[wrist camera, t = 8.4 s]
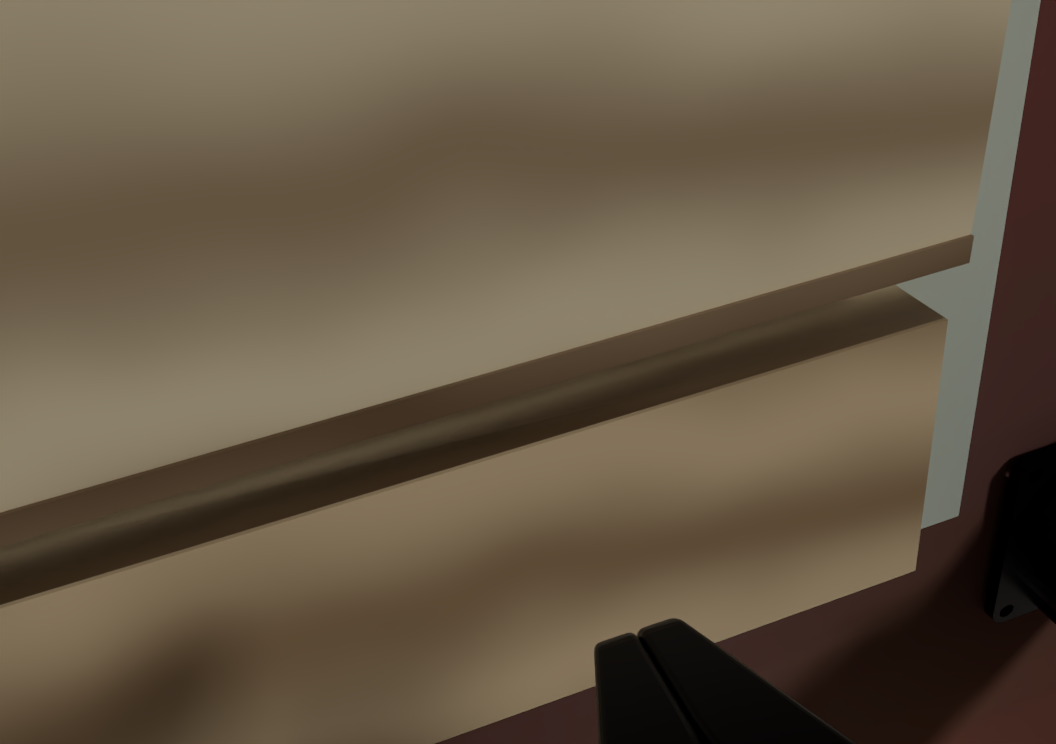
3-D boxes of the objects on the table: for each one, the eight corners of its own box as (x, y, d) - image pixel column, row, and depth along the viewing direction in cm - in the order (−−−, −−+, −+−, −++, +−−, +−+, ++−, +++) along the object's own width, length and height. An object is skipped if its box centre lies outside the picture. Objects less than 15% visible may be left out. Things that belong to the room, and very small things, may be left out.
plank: (903, 221, 20) (969, 262, 18) (-337, 568, 16) (-398, 663, 14) (957, -213, 15) (1051, -210, 14) (-781, 104, 11) (-949, 164, 9)
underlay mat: (949, 507, 27) (958, 515, 26) (-189, 903, 21) (-195, 920, 21) (1082, -379, 16) (1101, -383, 15) (-1194, -39, 10) (-1242, -36, 10)
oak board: (867, 521, 25) (915, 570, 24) (-74, 846, 21) (-96, 934, 19) (889, 280, 21) (947, 320, 20) (-273, 619, 17) (-323, 707, 15)
